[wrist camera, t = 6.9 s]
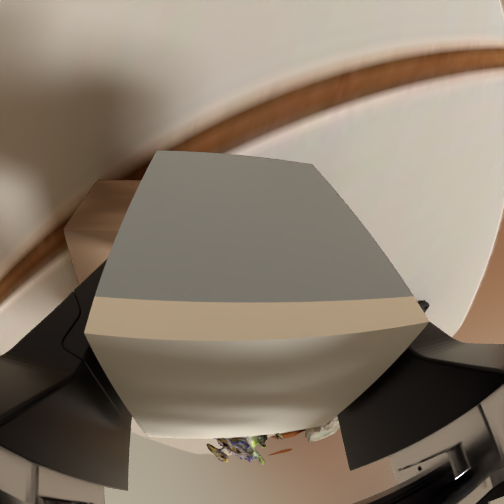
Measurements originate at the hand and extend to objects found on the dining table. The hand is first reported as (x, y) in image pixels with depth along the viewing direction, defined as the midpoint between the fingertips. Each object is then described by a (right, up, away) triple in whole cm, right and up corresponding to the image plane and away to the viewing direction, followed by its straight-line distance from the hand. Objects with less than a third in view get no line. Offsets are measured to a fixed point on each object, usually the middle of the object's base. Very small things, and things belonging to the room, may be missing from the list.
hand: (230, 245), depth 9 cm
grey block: (0, +1, +1) cm, 1 cm away
